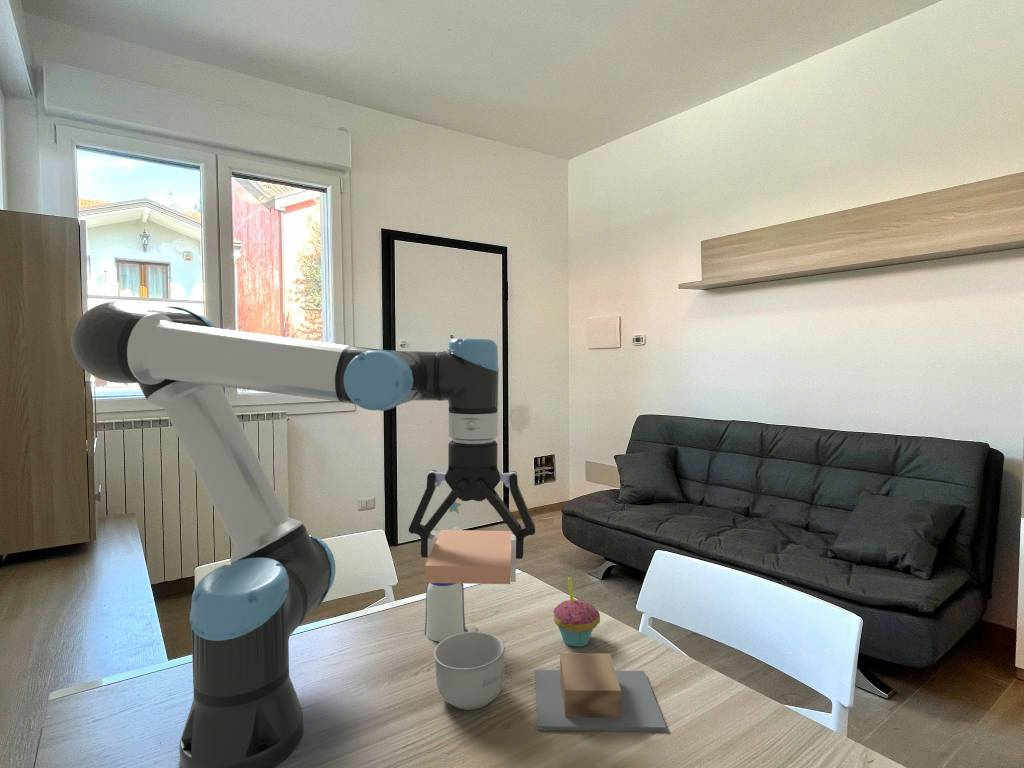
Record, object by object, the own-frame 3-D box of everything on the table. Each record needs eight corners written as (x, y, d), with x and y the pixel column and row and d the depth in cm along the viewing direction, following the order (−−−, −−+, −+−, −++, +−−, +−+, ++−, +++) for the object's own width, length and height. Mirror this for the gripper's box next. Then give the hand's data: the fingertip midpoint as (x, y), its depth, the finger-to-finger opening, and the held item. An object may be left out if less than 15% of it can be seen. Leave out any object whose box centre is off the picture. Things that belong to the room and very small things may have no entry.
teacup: (495, 724, 79) (495, 670, 79) (423, 715, 82) (423, 661, 81) (514, 670, 93) (514, 624, 93) (452, 663, 95) (452, 617, 95)
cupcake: (543, 639, 103) (544, 575, 103) (574, 624, 109) (574, 564, 108) (578, 657, 97) (579, 590, 96) (609, 641, 103) (610, 577, 102)
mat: (537, 730, 78) (537, 726, 78) (534, 673, 92) (534, 670, 92) (666, 731, 78) (666, 727, 78) (643, 674, 92) (643, 670, 92)
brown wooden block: (565, 717, 80) (565, 690, 80) (560, 677, 90) (560, 653, 90) (620, 717, 80) (621, 690, 80) (609, 677, 90) (609, 653, 90)
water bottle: (422, 621, 110) (421, 497, 109) (465, 619, 111) (465, 496, 110) (419, 643, 102) (418, 508, 101) (466, 640, 103) (466, 507, 101)
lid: (425, 582, 78) (425, 565, 78) (440, 544, 94) (441, 529, 94) (510, 584, 78) (510, 566, 78) (511, 545, 94) (511, 530, 94)
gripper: (388, 442, 82) (388, 586, 83) (553, 444, 81) (551, 589, 82) (399, 435, 89) (399, 567, 90) (550, 437, 89) (549, 569, 90)
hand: (472, 578), depth 86 cm, fingers closed on lid, 12 cm apart
